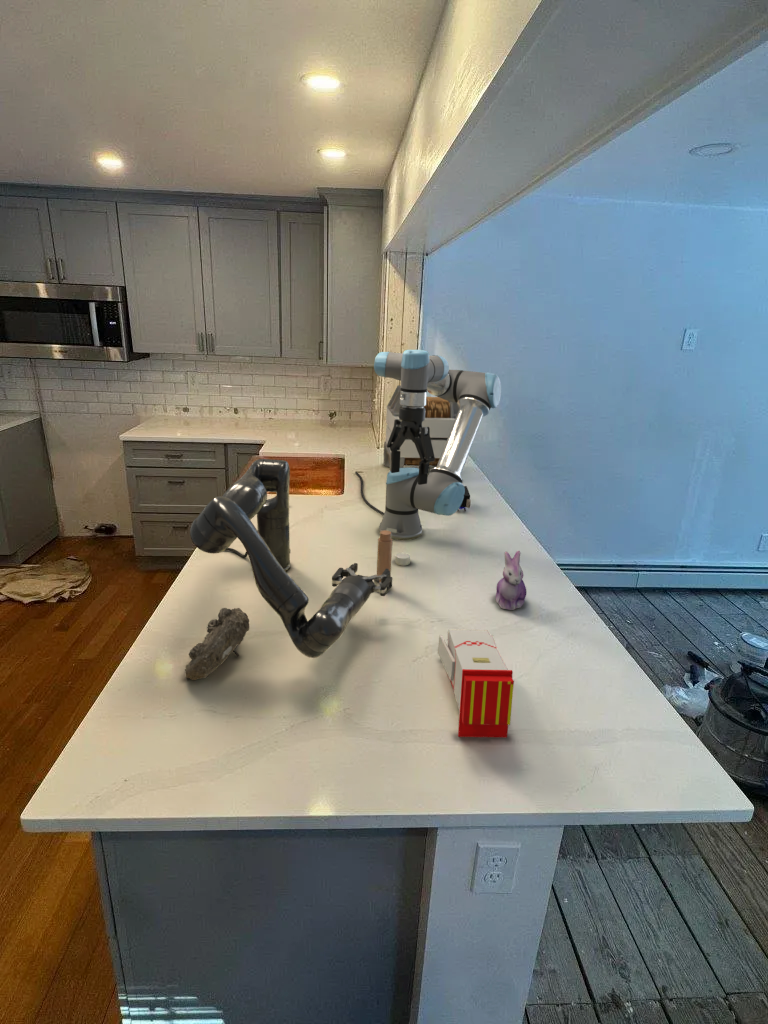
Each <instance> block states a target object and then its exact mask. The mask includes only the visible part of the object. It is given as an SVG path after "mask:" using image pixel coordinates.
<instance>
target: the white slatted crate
mask: <svg viewBox="0 0 768 1024" xmlns="http://www.w3.org/2000/svg"><path fill="white" fill-rule="evenodd" d="M400 389H401V384H400V385H399V384H398V385H397V386H396V388H395V390H394V392H393V394H392V395H391V398H390V400H389V402H388V404H387V405H386V413H385V414H386V415H385V423H386V428H385V438H384V442H383V466H384V467H388V468H389V472H390V471H391V450H390V448H388V447H387V443H388V440H389V438H390V435H391V433H392V430H393V427H394V421H395V420H396V419H399V408H400V406H402V405H401V404H400V393H401V390H400ZM424 407H425V409H426V412H425V420H424V421H423V422H422V427H429V428H430V439H431V443H432V448H433V452H434V457H435V461H433V462H430V463H429V467H437V464H438V462H439V459H440V457H441V454H442V452H443V449H444V446H445V444H446V441H447V439H448V436H449V434H450V431H451V429H452V426H453V423H454V421H455V418H456V416H457V413H458V411H459V407H458V405H457V403H454V402H450V401H447V400H445V399H442V398H440V397H437V396H427V399H426V406H424ZM418 438H419V437H418ZM392 443H393V442H392ZM397 451H401V452H400V468H405V466H406V467H408V466H411V467H415V466H416V467H417V466H418V467H419V462H421V459H420V456H419V453H418V451H417V448H416V446H415V443H414V442H412V440H410V439H409V438H406V440H405V441H404V443H403V444H402V446H401V447H400V450H397ZM424 458H425V457H424ZM430 458H431V457H430Z"/></svg>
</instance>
